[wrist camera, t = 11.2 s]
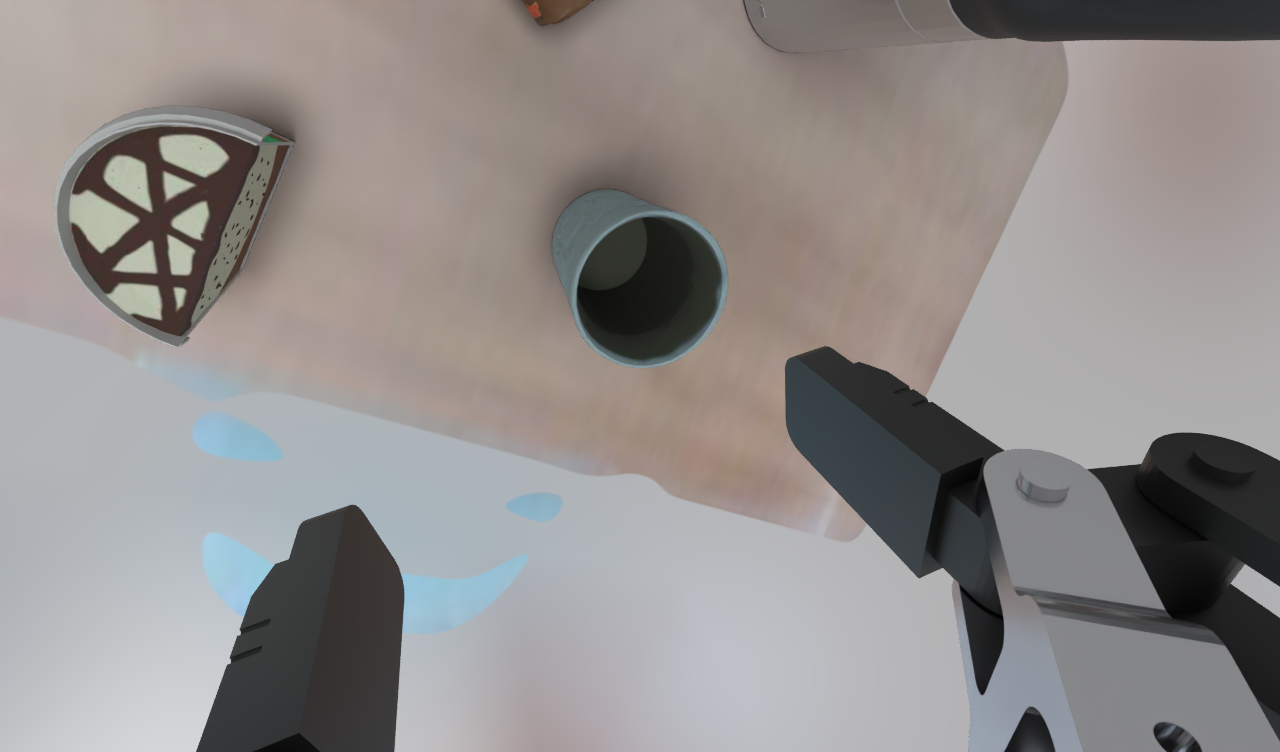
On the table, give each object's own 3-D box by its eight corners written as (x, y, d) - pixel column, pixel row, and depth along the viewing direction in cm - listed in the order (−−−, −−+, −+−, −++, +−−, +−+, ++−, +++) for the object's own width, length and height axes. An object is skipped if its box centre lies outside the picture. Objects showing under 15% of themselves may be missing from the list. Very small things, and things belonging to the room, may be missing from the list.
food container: (179, 49, 28) (78, 38, 20) (304, 118, 32) (261, 133, 23) (113, 245, 31) (2, 304, 23) (233, 290, 35) (173, 356, 26)
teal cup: (666, 287, 45) (731, 345, 36) (553, 317, 43) (590, 388, 33) (652, 165, 40) (725, 193, 30) (522, 192, 38) (555, 233, 28)
